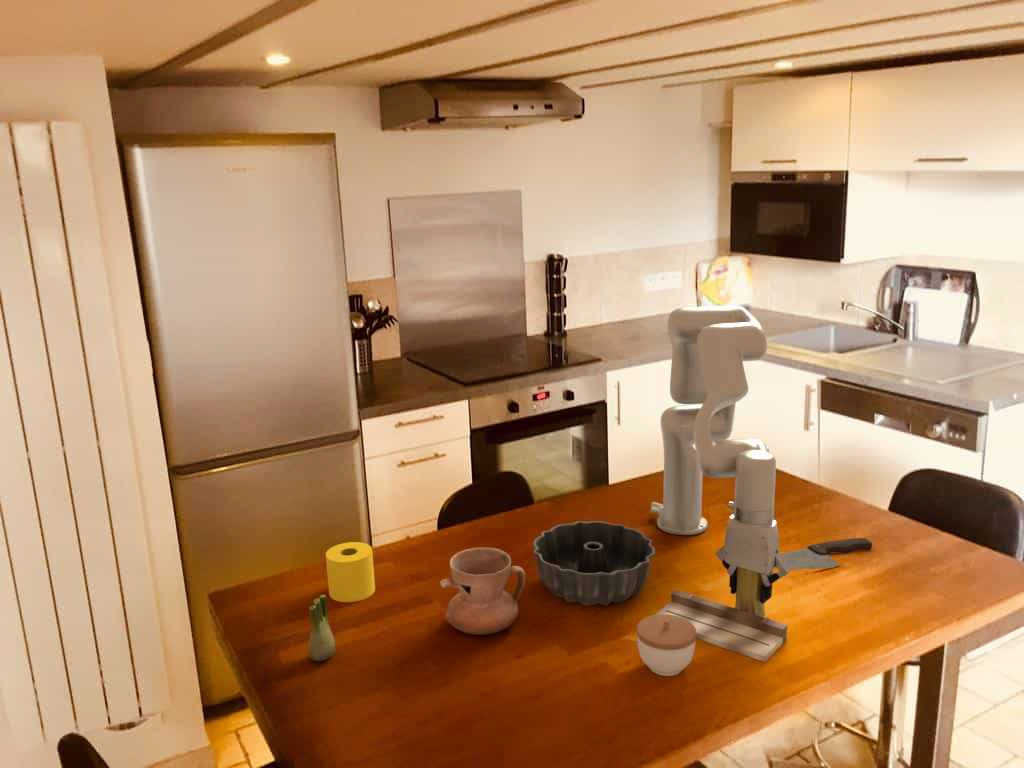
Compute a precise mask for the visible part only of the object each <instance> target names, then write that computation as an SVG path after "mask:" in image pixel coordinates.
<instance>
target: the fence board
mask: <svg viewBox="0 0 1024 768" xmlns="http://www.w3.org/2000/svg"><path fill="white" fill-rule="evenodd" d="M670 597H671V598H670V602H669V603H667V604H666V605H665V606H663V607H662V608H661V609H660V610H659V611H657V612H656V613H655V614H654V615H660V614H665V615H674V616H678V617H681V618H684V619H686V620H688V621H689V622H691V623H692V624H693V625H694V627H695V629H696V639H697V640H699V641H700V640H701V641H703V642H706V643H708V644H712V645H714V646H717V647H720V648H722V649H726V650H729V651H732V652H735V653H738V654H740V655H743V656H745V657H748V658H751V659H755V660H757V661H760V662H764V663H766V662H768V660H769V659H770V658H771V657H772V655H773V654H775V652H777V650H778V649H779V648H780V647H781V646H782V645H783V643H785V641H787V638H788V624H785V623H782V622H779V621H776V620H773V619H770V618H769V617H765V616H764V617H760V616H757V615H754V614H751V613H748V612H745V611H741V610H738V609H735V607H731V606H728V605H726V604H722V603H720V602H715V601H712V600H709V599H707V598H704V597H700V596H697V595H695V594H693V593H691V594H690V593H686V592H683V591H680V590H677V589H675V590H673V591H672V593H671V595H670Z"/></svg>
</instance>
